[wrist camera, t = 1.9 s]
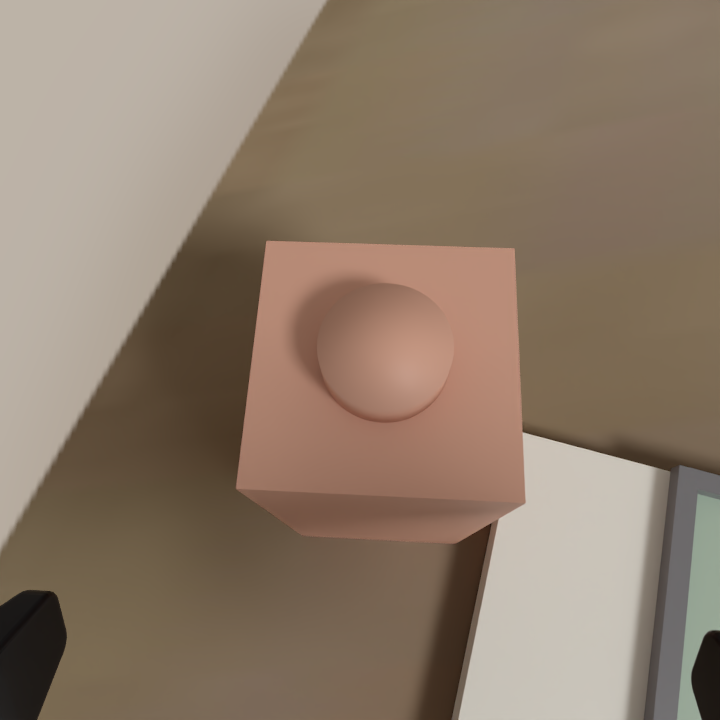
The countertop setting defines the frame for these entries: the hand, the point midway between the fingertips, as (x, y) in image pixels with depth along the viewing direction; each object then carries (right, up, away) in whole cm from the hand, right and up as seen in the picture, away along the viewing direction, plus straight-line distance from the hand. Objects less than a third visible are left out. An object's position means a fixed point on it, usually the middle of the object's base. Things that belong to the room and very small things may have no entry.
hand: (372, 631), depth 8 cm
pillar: (+1, 0, +12) cm, 12 cm away
